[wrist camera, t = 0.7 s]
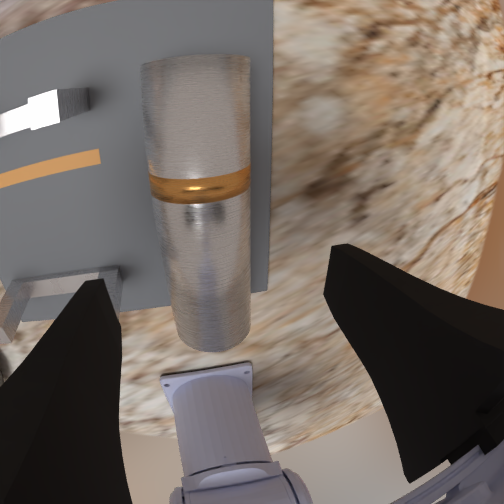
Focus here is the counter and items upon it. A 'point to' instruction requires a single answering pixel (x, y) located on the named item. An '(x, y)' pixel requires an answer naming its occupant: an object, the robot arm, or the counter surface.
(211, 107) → the tube
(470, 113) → the counter surface
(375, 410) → the counter surface
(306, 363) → the counter surface
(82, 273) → the collar
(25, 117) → the collar
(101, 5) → the board
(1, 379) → the stone
